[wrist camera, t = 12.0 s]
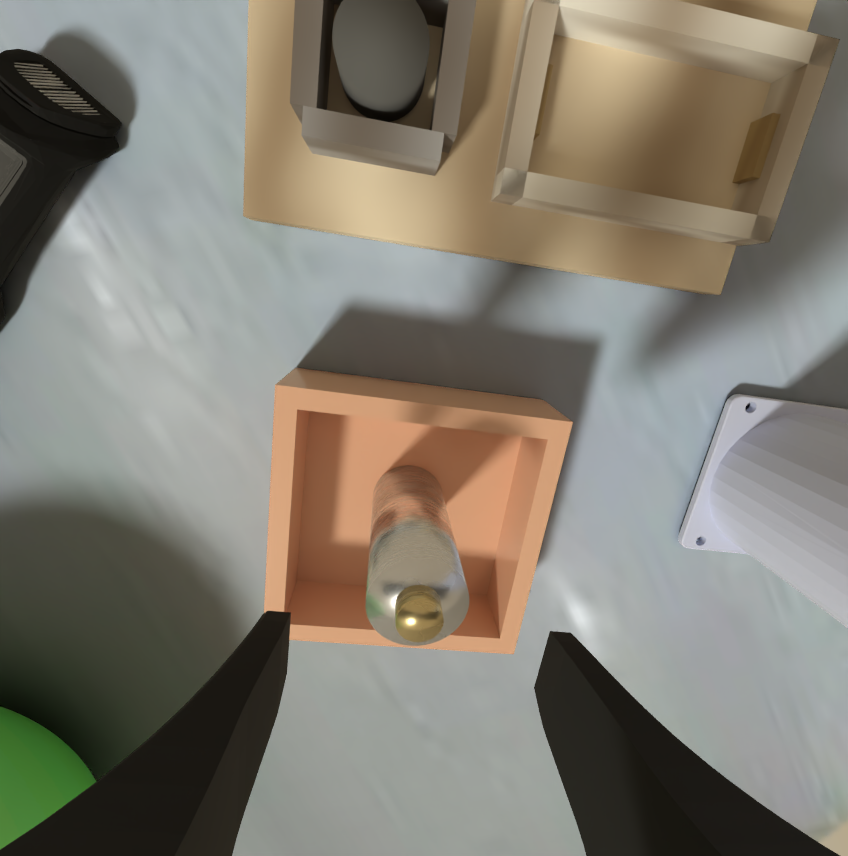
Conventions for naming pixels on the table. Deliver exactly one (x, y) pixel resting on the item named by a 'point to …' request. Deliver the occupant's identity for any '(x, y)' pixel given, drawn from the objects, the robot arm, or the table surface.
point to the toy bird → (34, 775)
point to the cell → (413, 561)
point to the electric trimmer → (42, 145)
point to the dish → (389, 448)
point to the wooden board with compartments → (546, 132)
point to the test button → (381, 55)
